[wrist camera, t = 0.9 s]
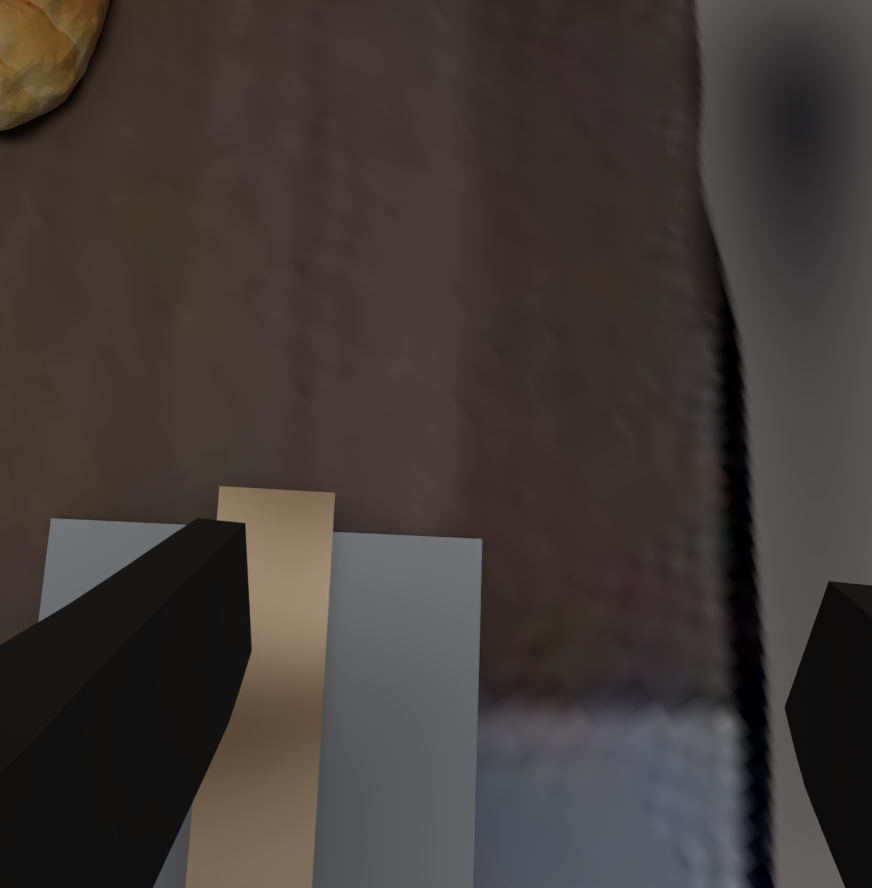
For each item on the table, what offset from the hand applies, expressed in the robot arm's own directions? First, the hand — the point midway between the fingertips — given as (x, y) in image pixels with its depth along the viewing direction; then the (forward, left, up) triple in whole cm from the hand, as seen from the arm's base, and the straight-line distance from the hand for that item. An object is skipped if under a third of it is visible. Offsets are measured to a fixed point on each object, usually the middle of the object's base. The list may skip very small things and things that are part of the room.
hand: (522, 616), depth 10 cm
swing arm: (-5, +3, -15) cm, 16 cm away
